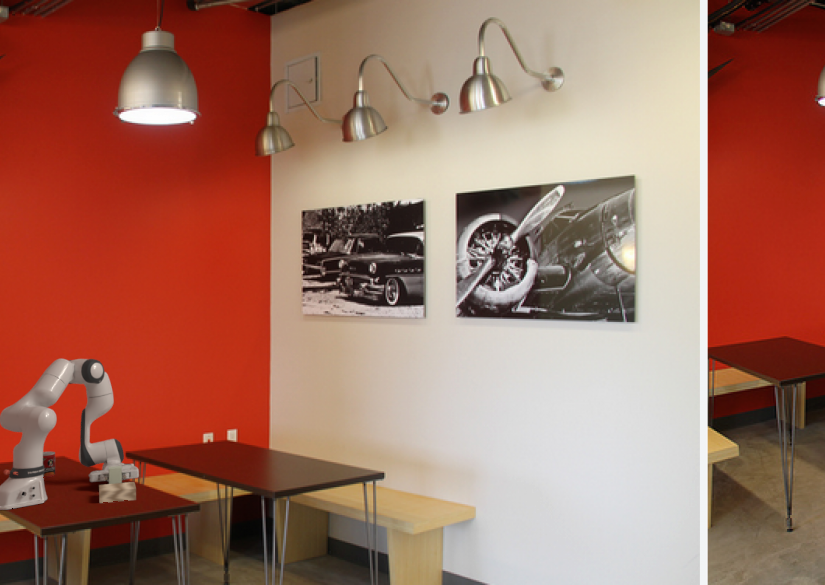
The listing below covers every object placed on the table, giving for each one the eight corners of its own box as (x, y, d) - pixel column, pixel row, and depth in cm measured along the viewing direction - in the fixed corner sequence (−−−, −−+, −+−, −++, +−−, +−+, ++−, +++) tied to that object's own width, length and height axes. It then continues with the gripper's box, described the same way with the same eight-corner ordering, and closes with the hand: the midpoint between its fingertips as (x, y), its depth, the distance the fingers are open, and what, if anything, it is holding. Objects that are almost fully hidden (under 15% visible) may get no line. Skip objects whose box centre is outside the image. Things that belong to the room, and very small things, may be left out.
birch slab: (99, 504, 322) (99, 491, 322) (99, 496, 335) (99, 484, 335) (136, 500, 327) (135, 488, 328) (134, 493, 340) (134, 481, 341)
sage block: (109, 492, 342) (109, 468, 342) (108, 490, 346) (108, 466, 347) (121, 491, 344) (121, 467, 344) (121, 488, 348) (120, 465, 349)
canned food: (42, 478, 373) (42, 454, 373) (34, 476, 378) (34, 453, 378) (58, 475, 379) (58, 452, 379) (49, 473, 384) (49, 450, 384)
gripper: (88, 467, 353) (89, 473, 340) (137, 463, 361) (139, 468, 348) (88, 481, 353) (89, 487, 340) (137, 477, 361) (139, 483, 348)
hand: (115, 478), depth 344 cm, fingers open, 7 cm apart
